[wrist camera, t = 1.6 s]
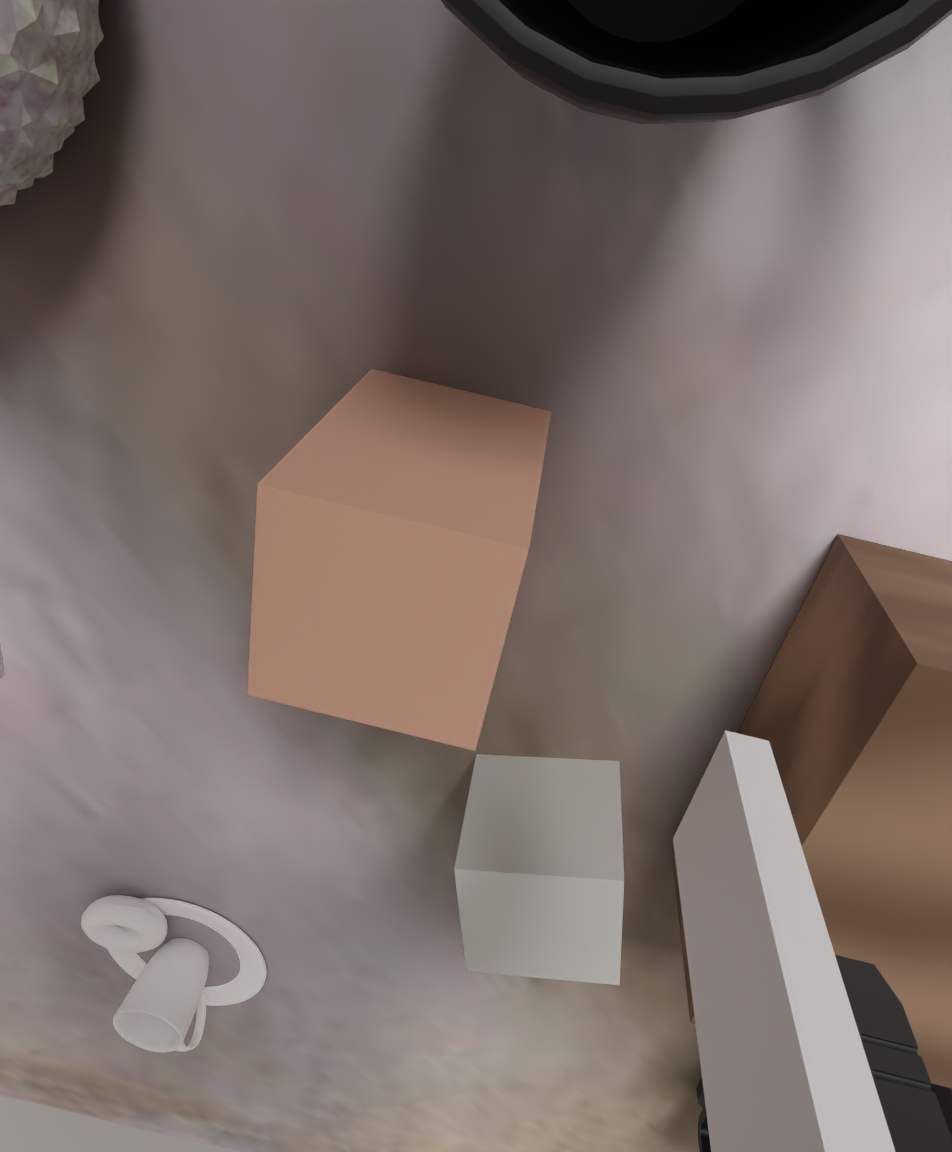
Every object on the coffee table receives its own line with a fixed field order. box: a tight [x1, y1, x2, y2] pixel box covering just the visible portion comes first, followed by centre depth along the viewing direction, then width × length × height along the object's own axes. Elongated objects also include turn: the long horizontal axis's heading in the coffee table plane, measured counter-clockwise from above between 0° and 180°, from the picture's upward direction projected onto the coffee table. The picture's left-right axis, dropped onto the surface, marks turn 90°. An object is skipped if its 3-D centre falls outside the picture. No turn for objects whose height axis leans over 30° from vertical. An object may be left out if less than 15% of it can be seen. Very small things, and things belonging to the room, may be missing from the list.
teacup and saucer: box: [81, 895, 267, 1052], centre depth 34 cm, size 9×8×4 cm
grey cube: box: [454, 754, 624, 985], centre depth 26 cm, size 5×5×5 cm
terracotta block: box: [247, 369, 552, 751], centre depth 18 cm, size 5×5×8 cm
